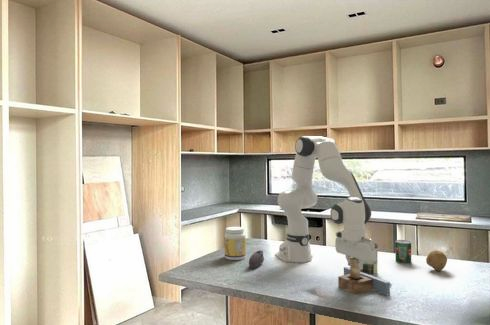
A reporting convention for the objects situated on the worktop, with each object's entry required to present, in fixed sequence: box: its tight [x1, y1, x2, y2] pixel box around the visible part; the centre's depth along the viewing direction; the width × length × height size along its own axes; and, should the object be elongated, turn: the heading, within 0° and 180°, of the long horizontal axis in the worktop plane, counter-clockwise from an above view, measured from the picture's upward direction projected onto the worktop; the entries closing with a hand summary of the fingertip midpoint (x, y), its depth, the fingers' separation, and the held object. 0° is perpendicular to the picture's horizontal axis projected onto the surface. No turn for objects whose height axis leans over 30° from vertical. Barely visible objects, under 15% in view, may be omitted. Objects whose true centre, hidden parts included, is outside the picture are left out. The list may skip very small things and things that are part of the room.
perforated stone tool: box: [248, 249, 265, 269], centre depth 184 cm, size 15×5×7 cm, turn 153°
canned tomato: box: [394, 239, 413, 265], centre depth 189 cm, size 8×8×11 cm
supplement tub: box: [223, 226, 247, 261], centre depth 201 cm, size 12×12×17 cm
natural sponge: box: [425, 249, 448, 272], centre depth 173 cm, size 9×9×10 cm
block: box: [337, 274, 374, 295], centre depth 151 cm, size 10×10×4 cm
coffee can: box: [360, 242, 379, 277], centre depth 171 cm, size 10×10×14 cm
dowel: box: [349, 257, 360, 279], centre depth 151 cm, size 4×4×8 cm
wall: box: [343, 266, 391, 296], centre depth 154 cm, size 24×2×5 cm, turn 29°
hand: (355, 267), depth 151 cm, fingers closed on dowel, 4 cm apart
